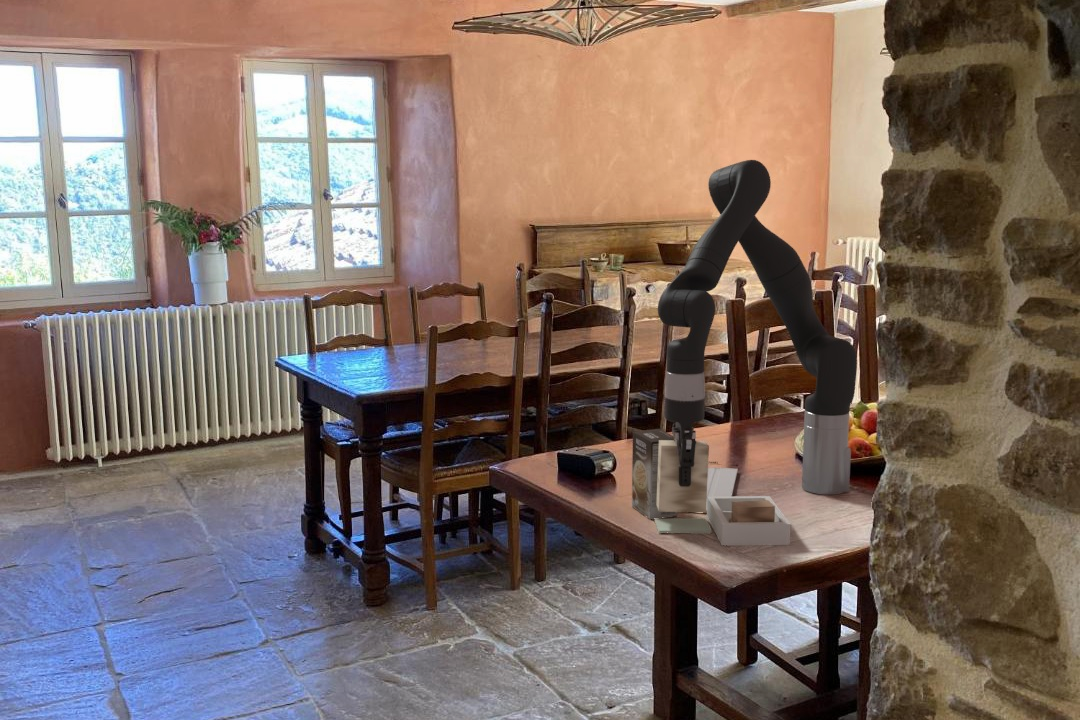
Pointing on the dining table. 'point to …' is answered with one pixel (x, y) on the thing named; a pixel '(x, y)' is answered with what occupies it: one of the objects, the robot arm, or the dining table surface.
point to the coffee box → (647, 472)
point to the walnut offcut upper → (753, 511)
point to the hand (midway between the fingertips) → (682, 482)
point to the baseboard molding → (720, 482)
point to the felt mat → (683, 525)
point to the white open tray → (746, 524)
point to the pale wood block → (668, 486)
